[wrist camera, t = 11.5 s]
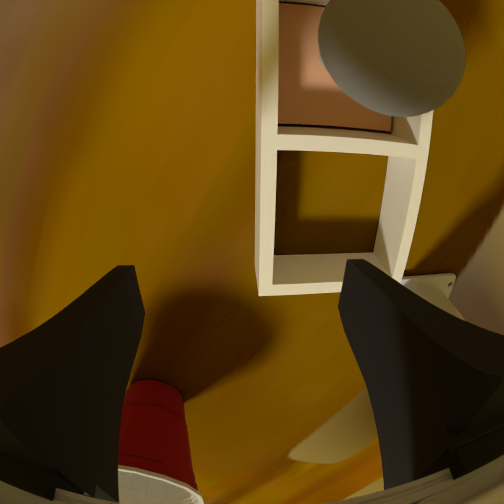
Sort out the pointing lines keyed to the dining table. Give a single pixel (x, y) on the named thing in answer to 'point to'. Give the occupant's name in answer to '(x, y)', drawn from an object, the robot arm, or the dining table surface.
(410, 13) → the light bulb
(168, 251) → the dining table surface
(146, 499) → the plastic cup
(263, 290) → the rack
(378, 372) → the robot arm
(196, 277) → the dining table surface
